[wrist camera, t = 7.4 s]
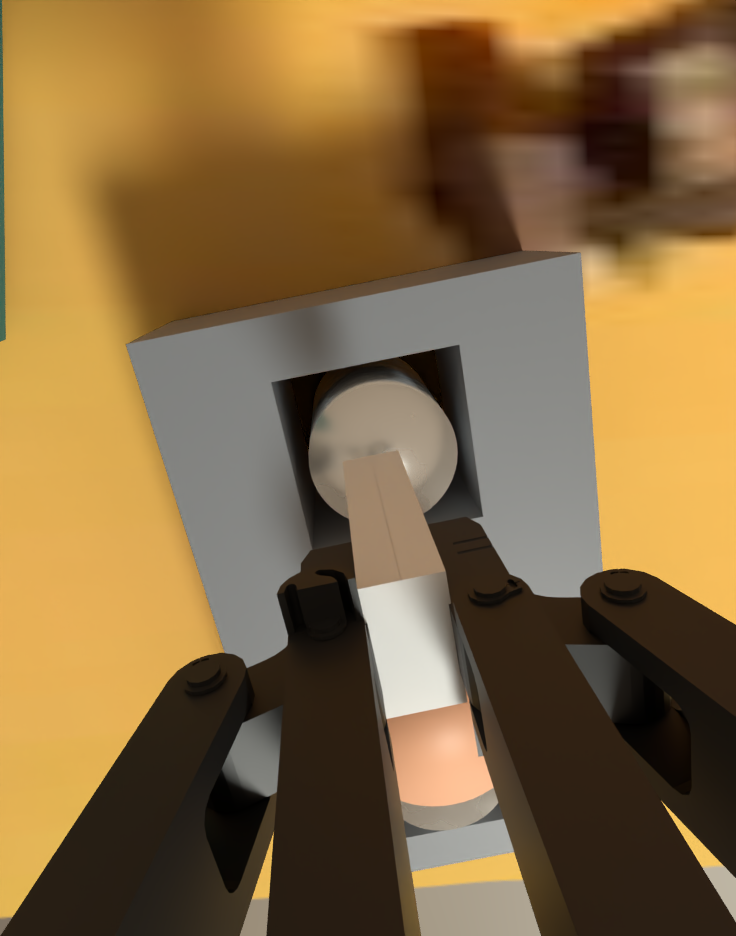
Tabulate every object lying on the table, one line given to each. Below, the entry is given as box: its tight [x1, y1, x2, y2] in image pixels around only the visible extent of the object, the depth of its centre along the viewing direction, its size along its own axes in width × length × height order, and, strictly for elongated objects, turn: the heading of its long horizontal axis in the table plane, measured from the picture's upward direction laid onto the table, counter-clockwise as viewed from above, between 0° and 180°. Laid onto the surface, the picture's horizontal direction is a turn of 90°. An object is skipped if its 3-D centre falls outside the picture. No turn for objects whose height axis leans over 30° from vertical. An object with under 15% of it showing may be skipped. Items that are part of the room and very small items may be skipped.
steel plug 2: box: [401, 787, 498, 831], centre depth 28 cm, size 5×5×6 cm
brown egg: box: [387, 689, 493, 806], centre depth 21 cm, size 5×5×6 cm
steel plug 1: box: [308, 357, 458, 519], centre depth 23 cm, size 5×5×6 cm
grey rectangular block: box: [126, 251, 603, 872], centre depth 26 cm, size 14×24×6 cm, turn 11°
